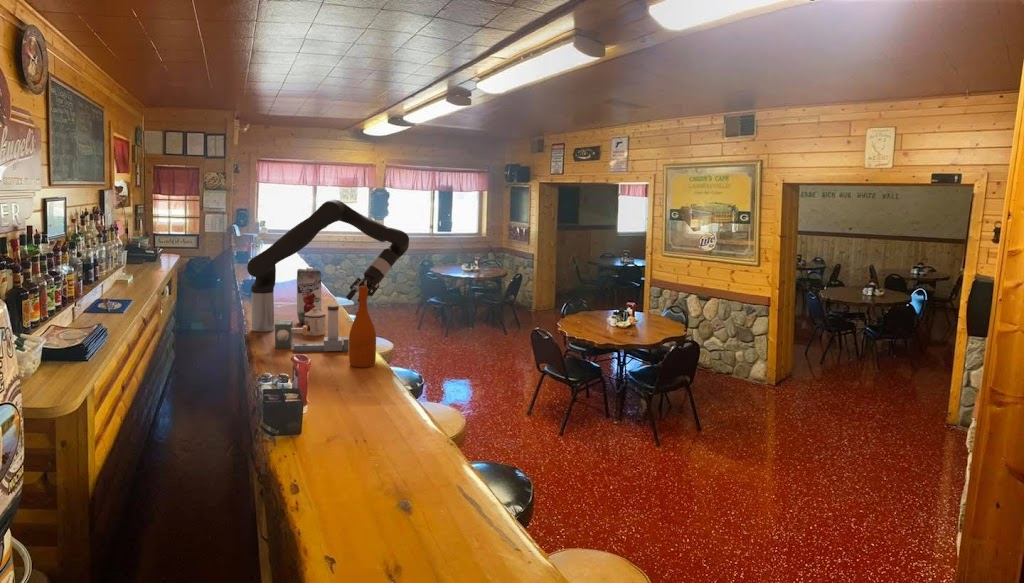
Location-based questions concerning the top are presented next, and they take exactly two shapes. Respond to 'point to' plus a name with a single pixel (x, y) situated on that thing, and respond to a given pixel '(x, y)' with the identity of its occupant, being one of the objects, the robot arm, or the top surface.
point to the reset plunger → (300, 330)
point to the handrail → (319, 347)
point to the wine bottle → (362, 335)
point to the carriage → (333, 331)
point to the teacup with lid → (315, 322)
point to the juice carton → (308, 292)
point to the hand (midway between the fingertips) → (353, 300)
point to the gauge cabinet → (283, 334)
